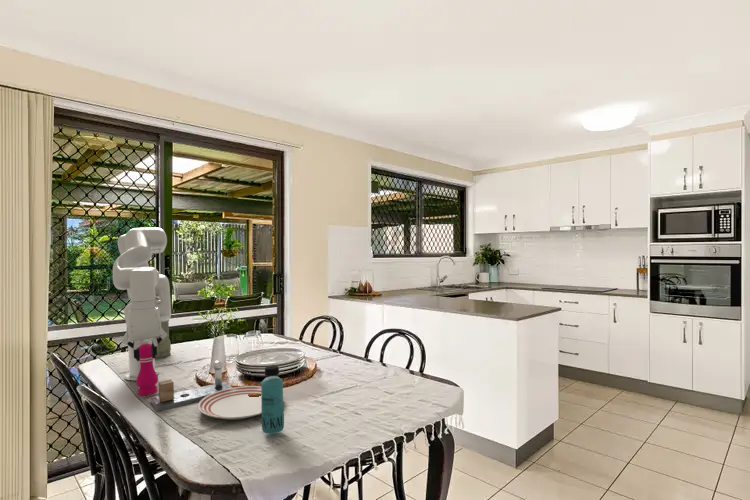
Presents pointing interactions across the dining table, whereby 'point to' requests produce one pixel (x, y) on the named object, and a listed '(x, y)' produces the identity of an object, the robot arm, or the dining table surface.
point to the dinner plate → (232, 403)
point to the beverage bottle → (272, 401)
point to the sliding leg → (166, 390)
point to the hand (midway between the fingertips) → (145, 358)
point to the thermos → (164, 341)
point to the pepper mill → (146, 371)
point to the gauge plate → (194, 392)
